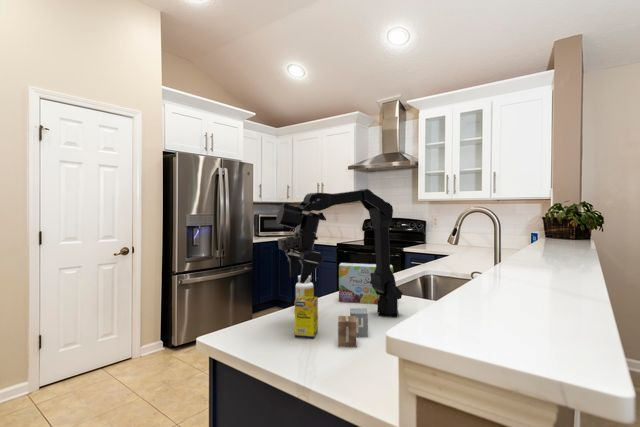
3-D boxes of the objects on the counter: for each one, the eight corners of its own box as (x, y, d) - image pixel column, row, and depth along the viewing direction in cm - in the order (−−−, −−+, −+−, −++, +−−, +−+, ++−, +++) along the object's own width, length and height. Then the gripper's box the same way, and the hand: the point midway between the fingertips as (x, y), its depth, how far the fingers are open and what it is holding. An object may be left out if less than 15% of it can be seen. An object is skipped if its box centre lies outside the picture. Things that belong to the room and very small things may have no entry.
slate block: (366, 330, 107) (366, 308, 107) (367, 337, 102) (367, 313, 102) (350, 330, 108) (350, 308, 107) (350, 337, 102) (350, 313, 102)
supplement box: (314, 339, 101) (313, 302, 100) (294, 337, 102) (294, 301, 102) (318, 331, 107) (318, 296, 106) (299, 330, 108) (299, 295, 107)
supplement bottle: (316, 308, 130) (316, 274, 129) (310, 314, 123) (309, 278, 123) (299, 307, 132) (299, 273, 131) (292, 312, 126) (292, 277, 125)
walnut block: (355, 340, 100) (355, 315, 100) (356, 347, 95) (356, 321, 95) (338, 339, 100) (338, 315, 100) (338, 347, 95) (338, 321, 95)
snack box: (338, 302, 138) (338, 264, 138) (340, 298, 144) (340, 262, 143) (392, 305, 133) (392, 266, 133) (393, 301, 139) (393, 264, 138)
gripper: (275, 224, 115) (264, 270, 114) (294, 227, 98) (281, 282, 97) (305, 231, 119) (295, 276, 118) (328, 236, 102) (317, 288, 101)
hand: (296, 280), depth 109 cm, fingers open, 9 cm apart
